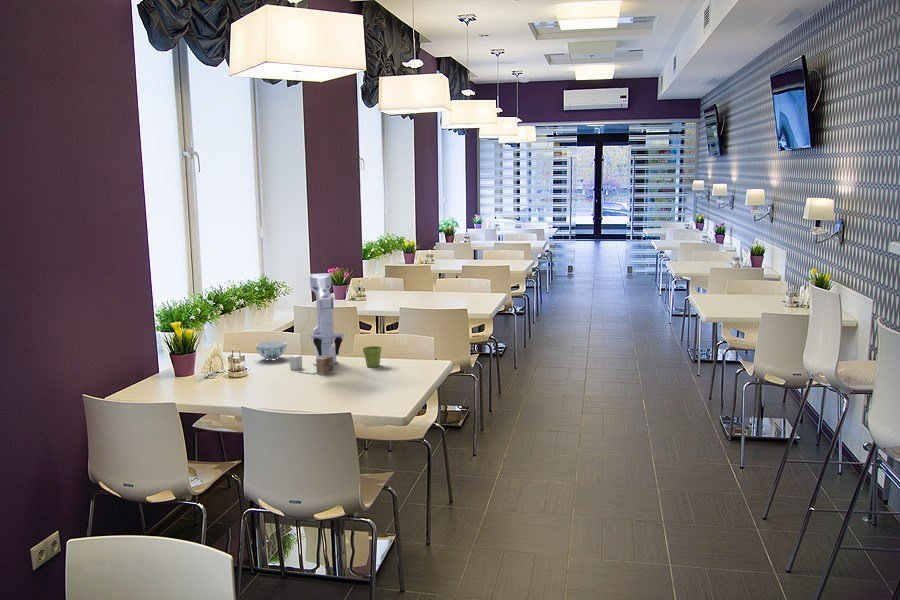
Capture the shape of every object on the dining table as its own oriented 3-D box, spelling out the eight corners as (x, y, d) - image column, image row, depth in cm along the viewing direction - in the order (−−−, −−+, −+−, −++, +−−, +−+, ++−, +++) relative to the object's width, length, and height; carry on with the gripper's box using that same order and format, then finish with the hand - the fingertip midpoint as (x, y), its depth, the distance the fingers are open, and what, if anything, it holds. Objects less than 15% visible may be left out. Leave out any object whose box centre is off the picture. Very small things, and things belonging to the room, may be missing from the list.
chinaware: (262, 356, 400) (261, 341, 399) (291, 355, 398) (290, 340, 397) (252, 362, 385) (251, 347, 384) (282, 362, 384) (281, 347, 382)
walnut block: (327, 370, 364) (326, 355, 363) (333, 371, 362) (332, 356, 361) (316, 373, 358) (316, 358, 357) (323, 374, 356) (322, 359, 355)
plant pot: (364, 369, 365) (363, 350, 364) (361, 364, 374) (361, 346, 373) (384, 367, 367) (383, 349, 366) (381, 363, 376) (380, 345, 375)
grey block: (296, 367, 372) (295, 354, 372) (302, 368, 370) (301, 355, 370) (290, 369, 369) (289, 356, 368) (296, 369, 367) (295, 357, 366)
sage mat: (316, 367, 370) (316, 366, 370) (329, 369, 366) (329, 368, 366) (299, 372, 361) (299, 371, 361) (313, 374, 357) (313, 373, 357)
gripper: (308, 326, 345) (310, 356, 345) (340, 324, 343) (342, 355, 343) (313, 324, 352) (315, 354, 352) (344, 323, 350) (346, 353, 350)
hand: (328, 355), depth 348 cm, fingers open, 7 cm apart
